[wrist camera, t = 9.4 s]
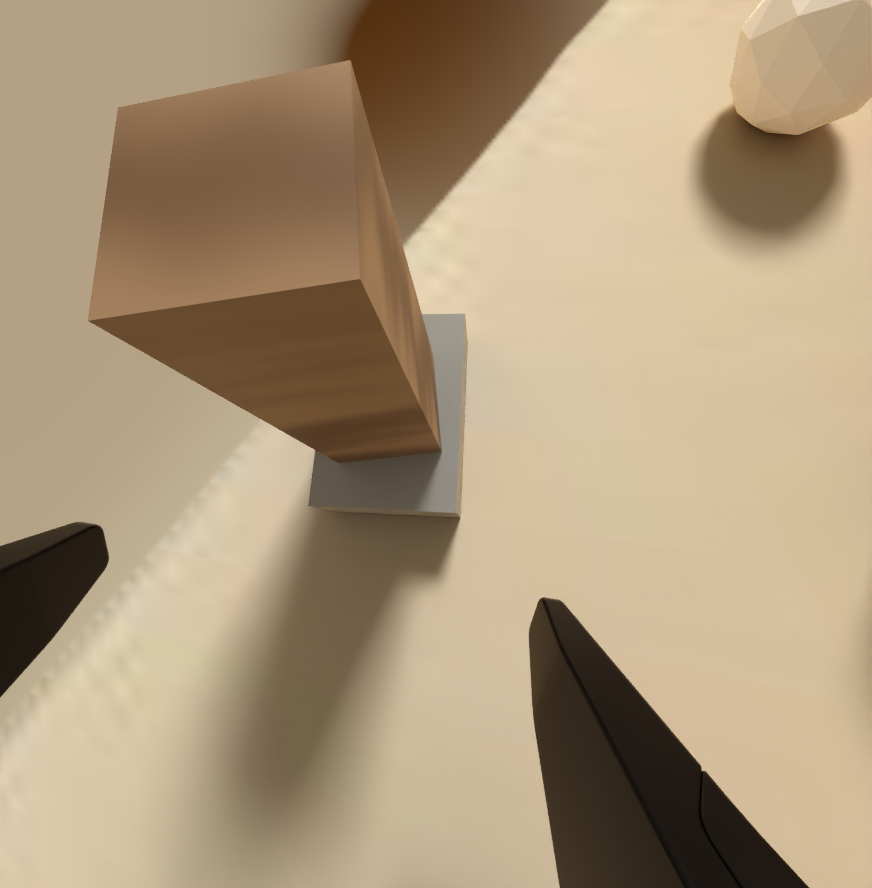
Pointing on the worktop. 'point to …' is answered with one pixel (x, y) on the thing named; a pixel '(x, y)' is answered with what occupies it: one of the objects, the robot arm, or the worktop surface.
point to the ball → (803, 63)
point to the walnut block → (270, 261)
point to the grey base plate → (415, 476)
